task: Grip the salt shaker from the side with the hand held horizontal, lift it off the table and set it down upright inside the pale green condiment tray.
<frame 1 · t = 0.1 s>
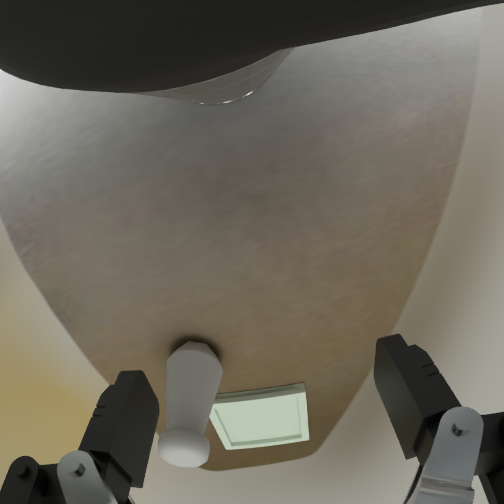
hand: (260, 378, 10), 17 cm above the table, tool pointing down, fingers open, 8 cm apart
tray: (260, 416, 38), on the table
salt shaker: (196, 353, 32), on the table
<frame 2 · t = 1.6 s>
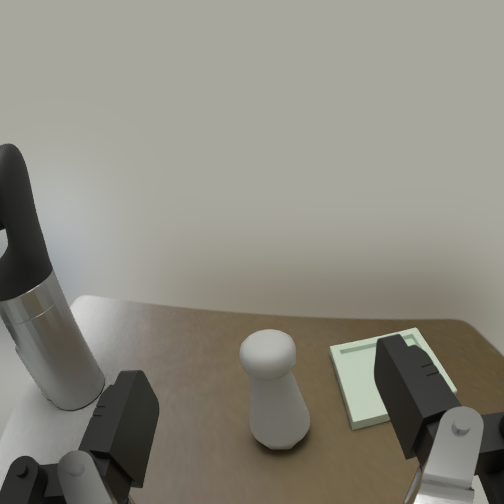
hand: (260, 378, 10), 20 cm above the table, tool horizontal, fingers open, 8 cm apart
tray: (389, 377, 32), on the table
salt shaker: (282, 435, 28), on the table
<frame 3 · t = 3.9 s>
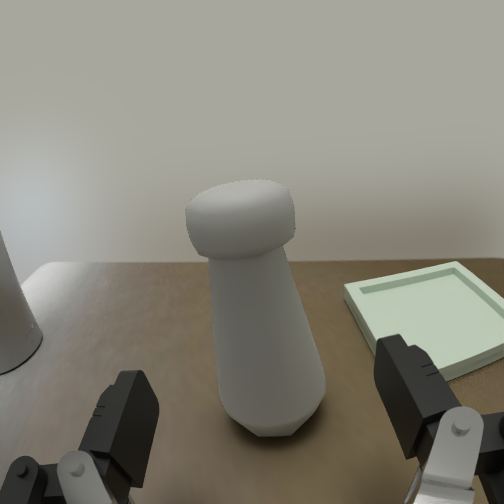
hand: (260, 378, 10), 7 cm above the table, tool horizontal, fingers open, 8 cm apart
tray: (435, 322, 21), on the table
salt shaker: (277, 413, 17), on the table
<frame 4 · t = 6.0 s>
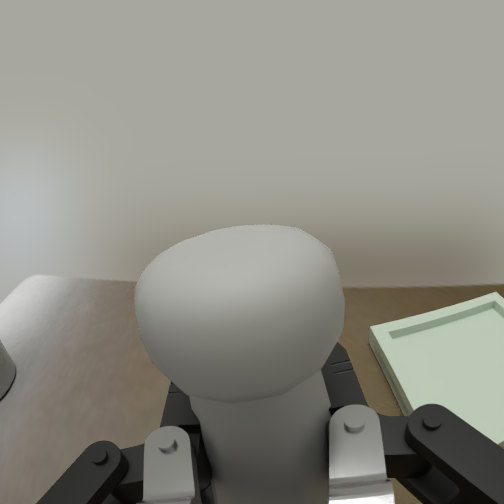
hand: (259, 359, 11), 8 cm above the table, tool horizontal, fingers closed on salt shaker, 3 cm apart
tray: (477, 374, 15), on the table
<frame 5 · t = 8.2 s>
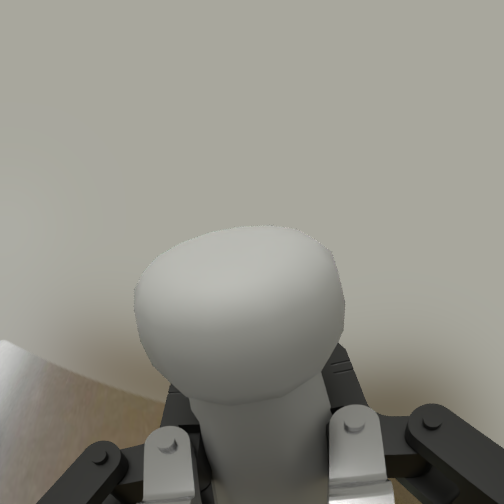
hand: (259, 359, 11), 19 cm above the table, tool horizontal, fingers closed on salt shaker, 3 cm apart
when the fingers open (9 cm above the table, at t = 10.3 s): salt shaker stays where it is, resting on tray.
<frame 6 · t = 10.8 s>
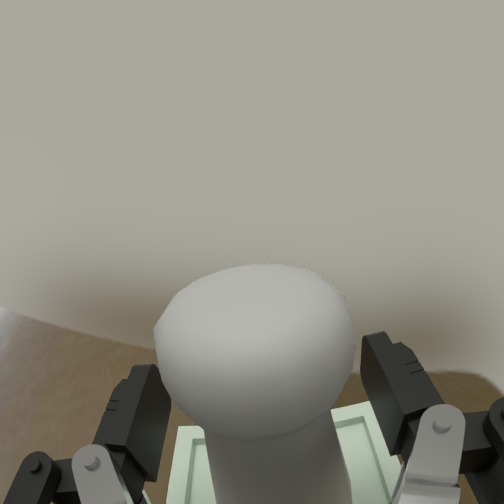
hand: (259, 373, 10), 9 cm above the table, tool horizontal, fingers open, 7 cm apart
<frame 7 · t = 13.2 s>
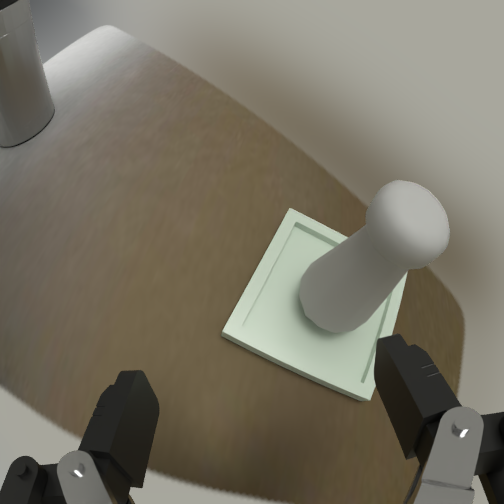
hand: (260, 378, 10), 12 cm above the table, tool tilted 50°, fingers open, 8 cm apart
tray: (323, 304, 25), on the table
salt shaker: (325, 304, 24), point 1 cm above the table, touching tray
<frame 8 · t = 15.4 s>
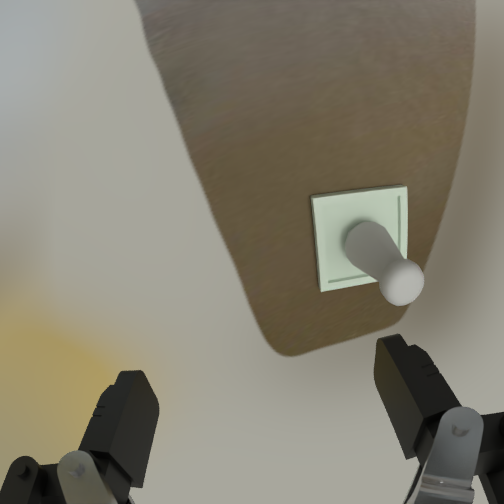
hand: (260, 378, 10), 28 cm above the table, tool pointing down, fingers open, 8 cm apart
tray: (360, 236, 38), on the table
salt shaker: (361, 238, 37), point 1 cm above the table, touching tray
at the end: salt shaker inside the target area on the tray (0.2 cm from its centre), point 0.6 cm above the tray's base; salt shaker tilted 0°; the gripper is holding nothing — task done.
